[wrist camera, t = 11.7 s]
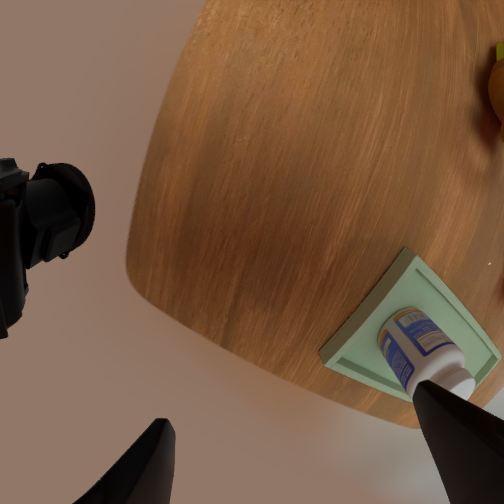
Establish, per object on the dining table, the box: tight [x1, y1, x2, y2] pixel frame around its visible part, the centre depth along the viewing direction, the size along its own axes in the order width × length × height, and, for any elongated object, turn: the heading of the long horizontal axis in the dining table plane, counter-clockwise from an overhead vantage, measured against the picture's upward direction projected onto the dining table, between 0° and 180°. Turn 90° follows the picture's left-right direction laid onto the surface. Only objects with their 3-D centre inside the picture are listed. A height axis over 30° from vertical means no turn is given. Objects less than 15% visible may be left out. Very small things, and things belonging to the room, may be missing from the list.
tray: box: [319, 247, 502, 403], centre depth 23 cm, size 28×12×2 cm, turn 56°
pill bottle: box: [378, 307, 476, 400], centre depth 17 cm, size 5×5×10 cm
